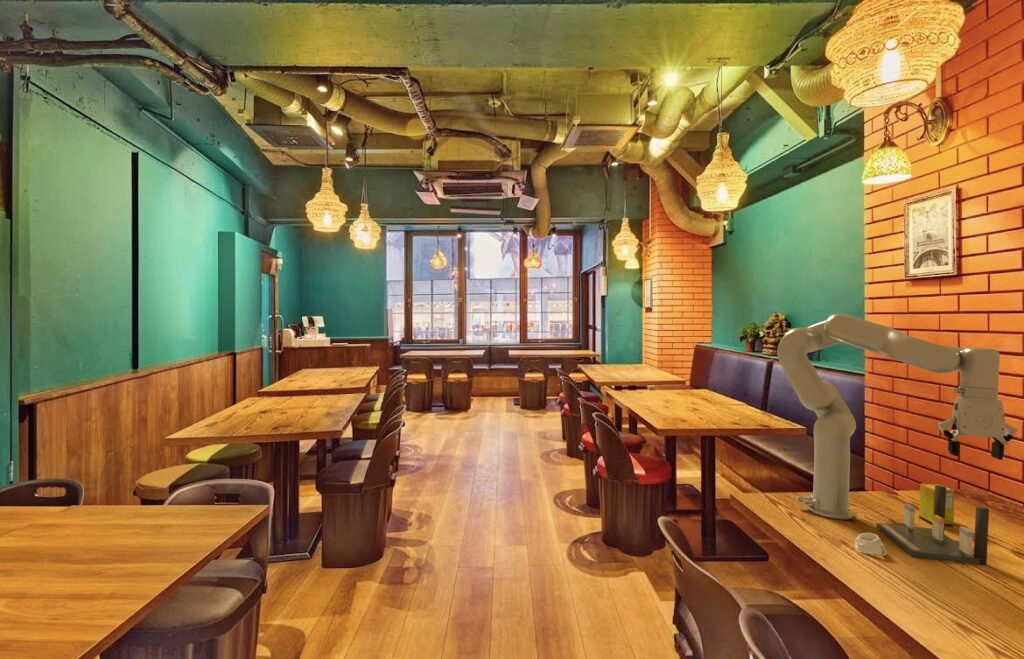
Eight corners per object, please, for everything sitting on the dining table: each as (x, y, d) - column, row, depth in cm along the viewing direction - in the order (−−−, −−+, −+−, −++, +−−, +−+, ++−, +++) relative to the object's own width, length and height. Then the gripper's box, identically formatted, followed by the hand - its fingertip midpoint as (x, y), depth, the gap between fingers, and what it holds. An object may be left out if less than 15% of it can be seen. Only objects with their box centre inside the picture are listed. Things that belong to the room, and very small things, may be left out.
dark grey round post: (977, 564, 124) (980, 509, 123) (931, 532, 142) (933, 484, 142) (989, 565, 123) (991, 510, 123) (940, 533, 142) (942, 485, 141)
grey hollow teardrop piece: (890, 564, 125) (894, 546, 124) (860, 557, 127) (863, 539, 127) (878, 548, 133) (882, 531, 132) (850, 541, 135) (853, 525, 134)
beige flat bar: (909, 527, 140) (910, 507, 140) (903, 523, 143) (904, 503, 143) (914, 528, 140) (915, 507, 140) (907, 523, 143) (908, 503, 143)
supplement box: (938, 518, 153) (940, 483, 152) (953, 526, 147) (955, 490, 146) (918, 517, 153) (919, 482, 153) (932, 525, 147) (934, 489, 147)
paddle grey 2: (966, 554, 124) (967, 531, 124) (958, 548, 127) (959, 526, 127) (971, 554, 124) (972, 532, 124) (963, 549, 127) (964, 526, 127)
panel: (912, 556, 127) (912, 549, 127) (876, 528, 144) (876, 521, 144) (980, 564, 124) (980, 556, 124) (935, 533, 141) (935, 527, 141)
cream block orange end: (938, 540, 132) (939, 518, 132) (931, 535, 135) (932, 514, 135) (943, 540, 132) (944, 519, 132) (936, 535, 135) (937, 514, 135)
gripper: (948, 393, 131) (945, 457, 131) (1028, 397, 127) (1024, 463, 127) (932, 389, 138) (929, 450, 139) (1007, 393, 134) (1003, 455, 134)
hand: (975, 456), depth 133 cm, fingers open, 9 cm apart
